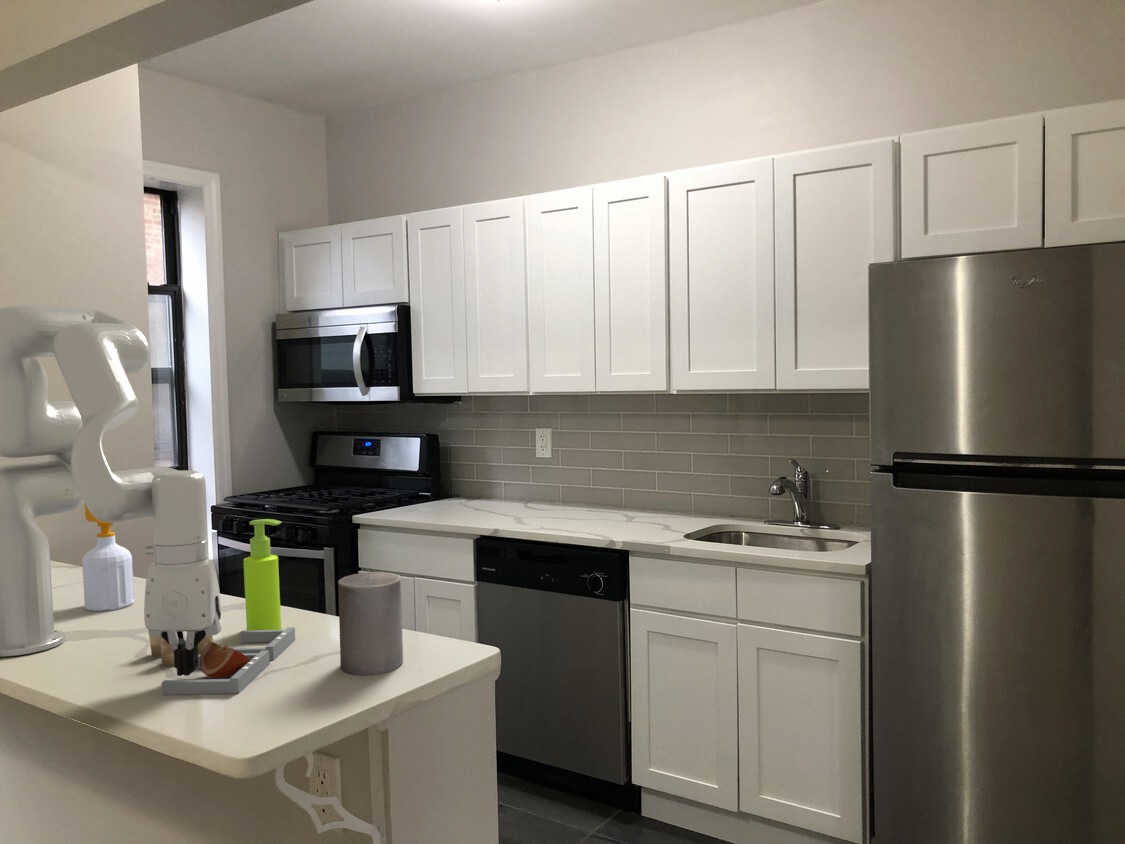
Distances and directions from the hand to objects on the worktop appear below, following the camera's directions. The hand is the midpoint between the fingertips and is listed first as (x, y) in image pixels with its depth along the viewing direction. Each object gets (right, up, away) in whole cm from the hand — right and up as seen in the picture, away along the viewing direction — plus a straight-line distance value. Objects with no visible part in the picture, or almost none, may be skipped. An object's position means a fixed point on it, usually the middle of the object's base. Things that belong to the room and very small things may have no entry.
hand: (186, 672), depth 137 cm
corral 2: (+6, 0, +14) cm, 15 cm away
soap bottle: (-35, 0, +47) cm, 58 cm away
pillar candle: (+27, 0, +5) cm, 28 cm away
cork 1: (-10, 0, +13) cm, 16 cm away
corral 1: (+5, -1, 0) cm, 5 cm away
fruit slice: (+5, -1, +1) cm, 6 cm away
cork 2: (-6, -1, +8) cm, 10 cm away
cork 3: (-3, 0, +13) cm, 13 cm away
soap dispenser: (+4, 0, +26) cm, 26 cm away
